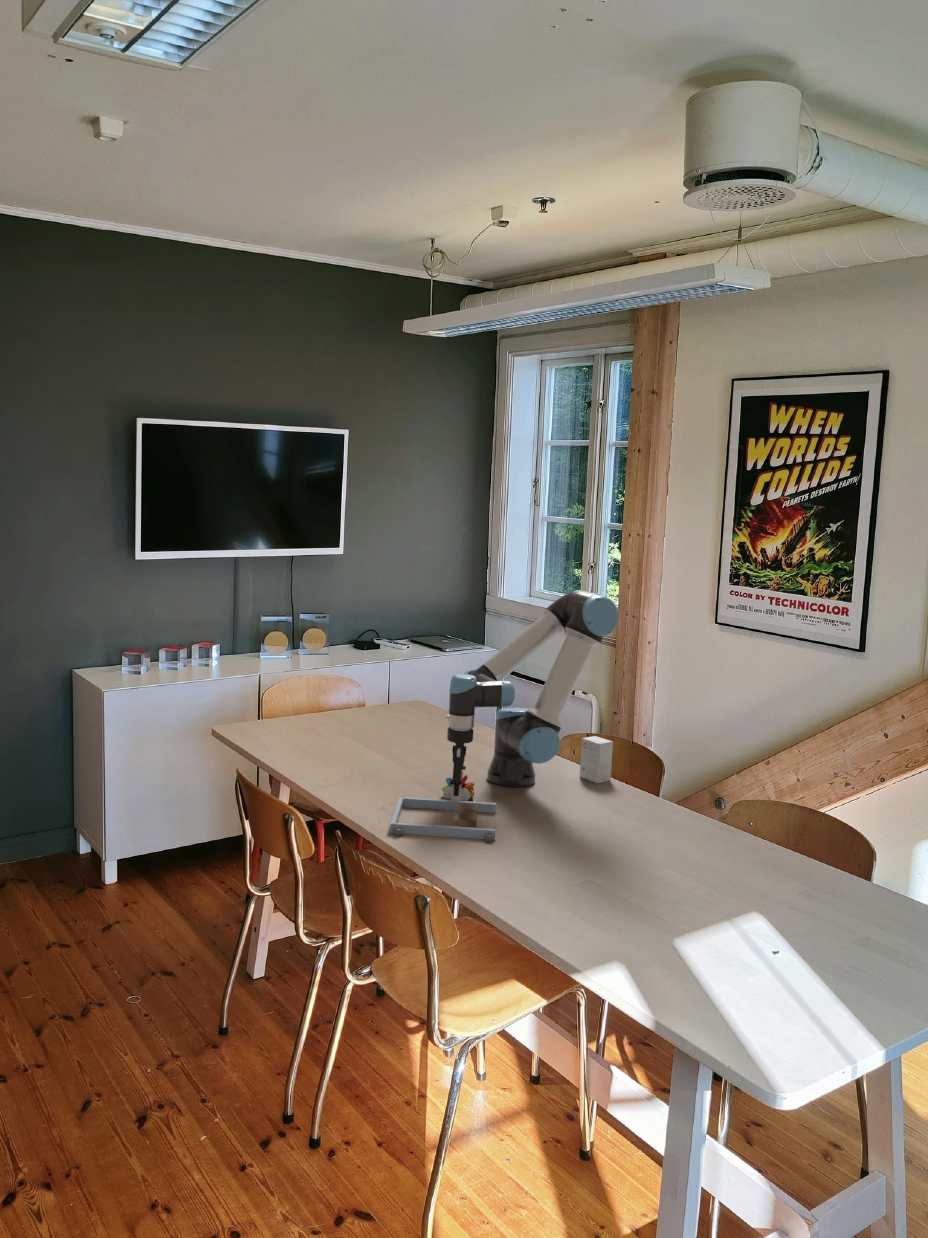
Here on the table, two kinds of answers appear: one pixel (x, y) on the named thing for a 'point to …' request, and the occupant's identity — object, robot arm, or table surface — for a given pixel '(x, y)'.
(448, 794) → the rainbow segmented toy
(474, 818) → the walnut block
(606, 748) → the small box
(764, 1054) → the table surface
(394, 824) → the cart frame
